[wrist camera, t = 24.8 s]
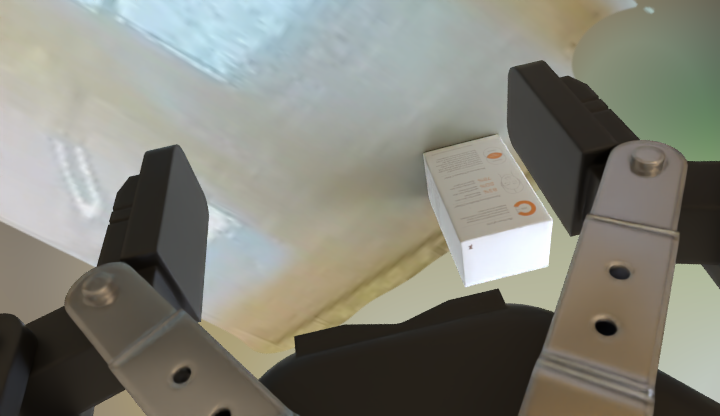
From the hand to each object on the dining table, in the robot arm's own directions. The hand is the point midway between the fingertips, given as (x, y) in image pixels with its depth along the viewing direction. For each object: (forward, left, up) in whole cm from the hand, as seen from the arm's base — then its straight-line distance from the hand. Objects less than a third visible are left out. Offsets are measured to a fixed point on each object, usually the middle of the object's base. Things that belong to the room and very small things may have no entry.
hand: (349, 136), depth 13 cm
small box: (+14, +28, -32) cm, 45 cm away
